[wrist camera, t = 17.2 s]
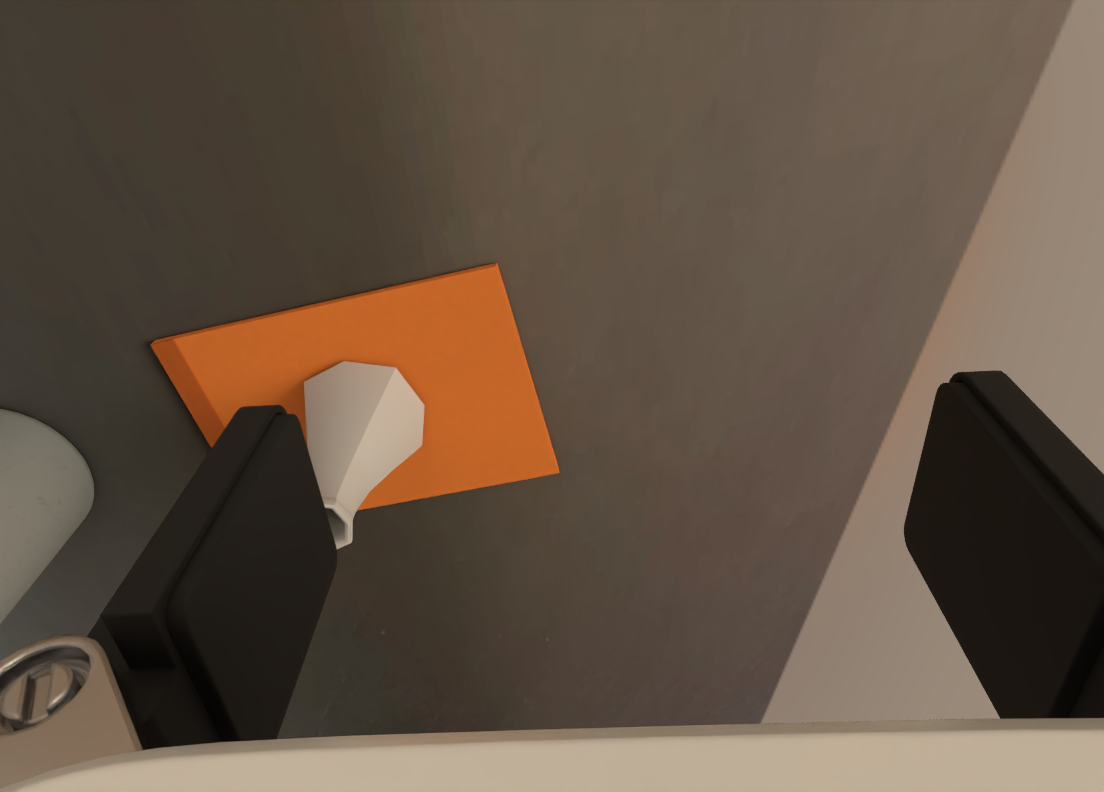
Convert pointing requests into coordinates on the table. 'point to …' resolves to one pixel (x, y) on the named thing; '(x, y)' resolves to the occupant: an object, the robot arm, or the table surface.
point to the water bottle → (36, 501)
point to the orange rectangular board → (395, 341)
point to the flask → (358, 434)
